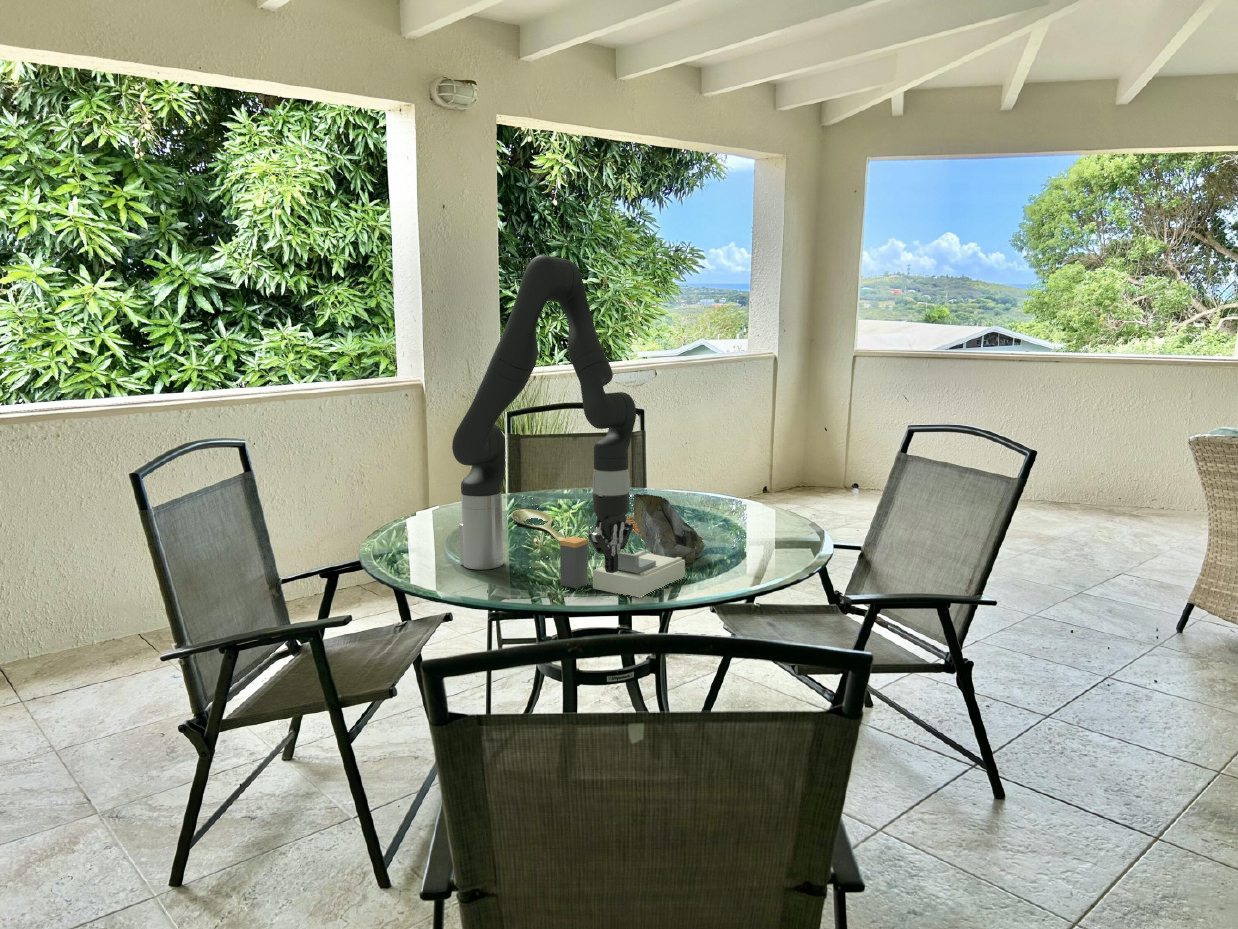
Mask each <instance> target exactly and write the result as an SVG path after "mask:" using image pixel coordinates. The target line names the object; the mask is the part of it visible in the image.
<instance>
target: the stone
mask: <svg viewBox="0 0 1238 929" xmlns="http://www.w3.org/2000/svg"><path fill="white" fill-rule="evenodd" d="M632 508H633V514H634V515H633V516H634V518H635V523H637V526H638V529H639V530H640V532H641V534H642V535H641V536H642V537H641V539H643V541H644V545H645V548H646V550H648V551H649V552H651V553H652V554H654V555H659V556H665V557H671V558H676V557H681V558H682V560H685V564H693V563H694V562H695V559H698V558H700V557H702V554H703V551H704V549H705V546H706V544H705V542H704V541H703V539H702V540H701V539H700V538H699V536H700V535H699V534H698V533H697V531H696V530H695V529H694V528H693V527H692V526H691V525H689V524H688V523H686V522H685V521H684V520H683V519H682V517H681V516H680V515H679V512H678V511H677V509H675V508H674V507H673V506H672V504H671V502H670V501H669V500H668V499H667V498H665V497H662V496H661V495H653V494H648V493H643V494H642V493H633V501H632ZM698 535H699V536H698Z"/></svg>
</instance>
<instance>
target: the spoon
mask: <svg viewBox="0 0 1238 929" xmlns="http://www.w3.org/2000/svg"><path fill="white" fill-rule="evenodd" d="M510 516H511V519H512V520H513V521H515V522H516V523H517V524H521V525H523V526H526V527H531V528H536V529H542V530H545V531H547V532H548V533H550V535H551V536H552V537H553V538H554V539H555V540H556V541H557V540H558V542H559V541H560V540H563V539H566V538H567V536H565V535H564V534H562V533H560V532H559V531H557V530H556V529H554V528H553V527H552V523H553V520H554V519H553V517H552V516H551V515H550V514H548V513H546V512H543V511H541V510H537V509H529V508H521V509H516V510H514V511H512V512H511V514H510ZM531 518H538V519H542V520H543V521H548V522H547V523H546V524H544V525H540V524H538V525H535V524H533V525H532V524H530V523H529V524H525V523H524V522H523V521H526V520H527V519H531Z"/></svg>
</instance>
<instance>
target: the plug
mask: <svg viewBox="0 0 1238 929" xmlns="http://www.w3.org/2000/svg"><path fill="white" fill-rule="evenodd" d="M588 540H589V538H585V537H583V538H582V537H578V536H570V537H566V539H563V540H560V542H559V543H560V544H559V546H560V547H559V548H560V550H559V552H560V554H559V555H560V586H562V587H567V588H571V589H575V590H576V589H578V588H581V587H584V586H587V585H588V584H589V560H588V559H589V557H588V556H589V553H588V552H589V550H588V548H589V543H588Z"/></svg>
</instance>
